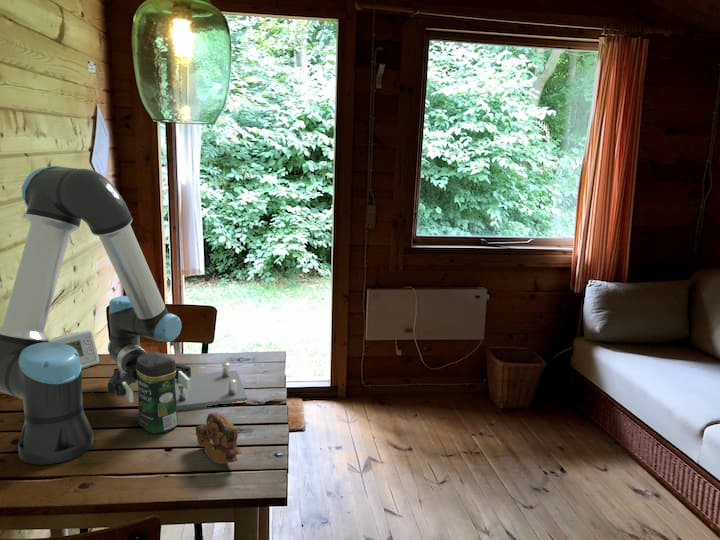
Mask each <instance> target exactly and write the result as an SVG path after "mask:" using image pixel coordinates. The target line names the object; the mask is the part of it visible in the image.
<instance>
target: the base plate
mask: <svg viewBox="0 0 720 540" xmlns="http://www.w3.org/2000/svg"><path fill="white" fill-rule="evenodd" d="M221 365H222V366H221V367H222V369H221V370H222V371H217V372H207V373H197V374H191V377H189V379H190V390H187V389H186V388H185V387H184V386H183V385H182V384H181V383H180V382H179V381H178V379H175V391H176V406H177V412H180V411H188V409H189V410H195V409H196V408H198V409H202V408H201V407H206V408H208V407H207V406H212V405H218V404H225V403H232V402H237V401H245V400H247V401H248V396H247V394H246V391H245V388H244V386H243V383H242V381H241V379H240V375H239V373H238V371H237V370H231V362H229V361H224V362H222V364H221Z"/></svg>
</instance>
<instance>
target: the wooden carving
mask: <svg viewBox="0 0 720 540" xmlns="http://www.w3.org/2000/svg"><path fill="white" fill-rule="evenodd" d="M205 422H206V423H205V424H204V423H203V424H201V425H197V426H195V428H194V429H195V435H196V440H197V444H198V445H199V446H200V447H201V448H204V452H205V454H206V455H207V457H208V459H210V460H211V461H213V462H214V463H216V464H217V465H218V464H219V465H225V464H229V463H235V462H238V457H237V455H241V454H242V450H241V448H239V446H237V445H238V444H237V440H238V436H239V435H238V434H239V433H238V428H237V427H235V425H234V424H233V423H232V421H231V420H230V419H229V418H228V416H226V415H224V414H218V413H217V412H213V413H212V412H211V413H209V414H207V418H206V421H205Z"/></svg>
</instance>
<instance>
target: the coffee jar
mask: <svg viewBox="0 0 720 540" xmlns="http://www.w3.org/2000/svg"><path fill="white" fill-rule="evenodd" d="M146 352H147V351H146ZM175 363H176V360H175V359H174V358H172V357H171V356H170V355H167V354H166V353H163V352H159V351H157V350H152V351H149V352H147V353H143V354H141V355H140V356H139V357H138V359H137V362H136V372H137V379H138V380H137V393H138V394H137V395H138V396H137V397H138V398H137V399H138V401H137V402H138V410H137V413H138V415H137V416H138V424H139V425H140V427H142V429H144V430H145V431H147V432H148V433H150V434H160V433H163V434H164V433H166V432H169V431H171V430H173V429H174V428H176V426H177V425H178V423H179V422H178V421H179V420H178V411H177V406H176V391H175V375H176V364H177V363H176V364H175Z"/></svg>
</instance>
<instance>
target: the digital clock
mask: <svg viewBox="0 0 720 540" xmlns="http://www.w3.org/2000/svg"><path fill="white" fill-rule="evenodd" d="M49 342H52V343H57V342H58V343H64V344H67V345H70V346H72V347H74V348H75V349H76V350H77V352H78V353H79V357H80V362H81V366H82V368H81V370H85V369H88V368H89V367H92V366H96V365H98V364H99V363H100V357H99V354H98V349H97V346H96V345H97V344H96V342H95V338H94V334H93V331H92V330H90V329H87V330H83V331H78V332H77V331H76V332H73V333H68V334H65V335H60V336H57V337H56V336H55V337H52V338H49Z"/></svg>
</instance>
